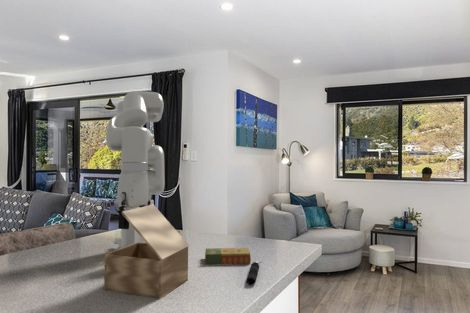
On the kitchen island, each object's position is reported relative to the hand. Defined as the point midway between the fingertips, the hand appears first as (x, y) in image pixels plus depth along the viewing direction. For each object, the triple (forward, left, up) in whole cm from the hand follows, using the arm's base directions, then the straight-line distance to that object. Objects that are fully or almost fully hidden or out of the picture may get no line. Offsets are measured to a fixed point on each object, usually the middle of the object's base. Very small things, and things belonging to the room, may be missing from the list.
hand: (133, 225), depth 110 cm
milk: (-9, +20, -17) cm, 28 cm away
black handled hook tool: (+32, +21, -17) cm, 42 cm away
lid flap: (+8, 0, -1) cm, 8 cm away
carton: (+18, +32, -17) cm, 40 cm away
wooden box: (+5, 0, -17) cm, 18 cm away
